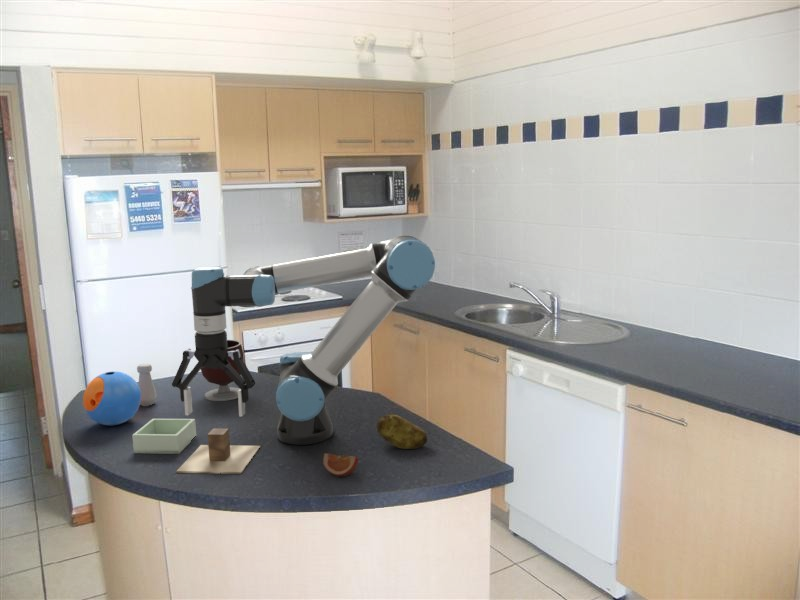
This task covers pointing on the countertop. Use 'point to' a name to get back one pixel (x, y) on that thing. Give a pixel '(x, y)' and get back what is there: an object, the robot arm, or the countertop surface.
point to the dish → (164, 436)
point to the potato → (401, 432)
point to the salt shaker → (146, 385)
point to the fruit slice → (340, 464)
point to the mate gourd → (223, 377)
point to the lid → (219, 456)
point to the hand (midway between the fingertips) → (215, 414)
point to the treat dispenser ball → (112, 398)
